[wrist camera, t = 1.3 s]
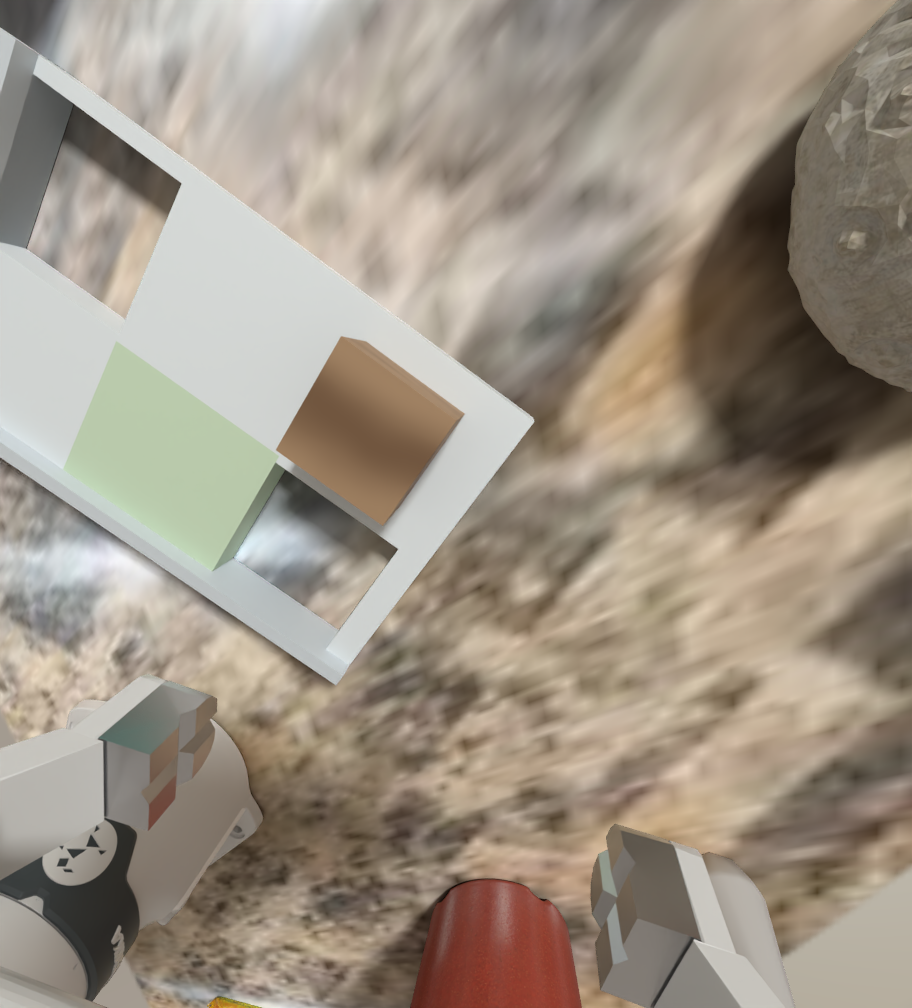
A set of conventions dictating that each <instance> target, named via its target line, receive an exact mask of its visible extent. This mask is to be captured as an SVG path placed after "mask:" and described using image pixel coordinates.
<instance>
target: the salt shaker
mask: <svg viewBox="0 0 912 1008" xmlns="http://www.w3.org/2000/svg"><path fill="white" fill-rule="evenodd" d="M702 858H703V860H704V863H705V866H706V869H707V872H708V875H709V877H710V880H711V883H712V886H713V889H714V892H715V894H716V897H717V900H718V903H719V906H720V909H721V911H722V914H723V917H724V920H725V923H726V926H727V928H728V931H729V934H730V937H731V940H732V943H733V945H734V948H735V951H736V954H739V955H742V956H744V957H746V958H747V959H748V961H749V962H750V963H751V964H752V966H753V967H754V968H755V970H756V971H757V972H758V973H759V975H760V976H761V977H762V978H763V980H764V981H765V982H766V984H767V985H768V986H769V987H770V989H771V990H772V991H773V992H774V994H775V995H776V996H777V998H778V999H779V1000H780V1001H781V1003H782V1004H783V1005H784V1006H785V1008H795V1004H794V1001H793V997H792V994H791V990H790V987H789V983H788V979H787V976H786V972H785V969H784V966H783V962H782V958H781V955H780V951H779V948H778V944H777V941H776V937H775V934H774V930H773V927H772V923H771V919H770V916H769V912H768V909H767V905H766V902H765V899H764V897H763V896H762V894H761V893H760V891H759V890H758V888H757V887H756V886H755V884H754V883H753V882H752V880H751V879H750V878H749V877H748V876H747V875H746V874H745V873H744V872H743V871H742V870H741V869H740V867H739V866H738V865H737V864H736V863H735V862H734V861H733V860H732V859H729V858H725V857H722V856H719V855H716V854H713V853H710V852H709V853H706V854H703V855H702Z"/></svg>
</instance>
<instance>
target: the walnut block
mask: <svg viewBox="0 0 912 1008" xmlns="http://www.w3.org/2000/svg"><path fill="white" fill-rule="evenodd" d="M463 416H464V413H463V412H462V411H460V410H459V409H458V408H456V407H455V406H454V405H452V404H451V403H449V402H448V401H447V400H445V399H444V398H443V397H441V396H440V395H439V394H437V393H436V392H434V391H433V390H432V389H430V388H429V387H428V386H426V385H425V384H424V383H422V382H421V381H419V380H418V379H417V378H415V377H414V376H413V375H411V374H410V373H409V372H407V371H406V370H404V369H403V368H402V367H400V366H399V365H398V364H396V363H395V362H394V361H392V360H391V359H389V358H388V357H387V356H385V355H384V354H383V353H381V352H380V351H379V350H377V349H376V348H374V347H373V346H372V345H370V344H369V343H368V342H366V341H362V340H357V339H352V338H348V337H343V336H341V337H340V339H339V341H338V342H337V344H336V346H335V348H334V349H333V351H332V353H331V355H330V356H329V358H328V360H327V361H326V363H325V365H324V367H323V368H322V370H321V372H320V374H319V375H318V377H317V379H316V381H315V382H314V384H313V386H312V388H311V389H310V391H309V393H308V395H307V396H306V398H305V400H304V401H303V403H302V405H301V407H300V408H299V410H298V412H297V414H296V415H295V417H294V419H293V421H292V422H291V424H290V426H289V428H288V429H287V431H286V433H285V435H284V436H283V438H282V440H281V442H280V443H279V445H278V447H277V448H276V451H278V452H279V453H280V454H282V455H283V456H285V457H286V458H287V459H289V460H290V461H292V462H293V463H295V464H296V465H297V466H299V467H300V468H302V469H303V470H304V471H306V472H307V473H309V474H310V475H311V476H313V477H314V478H316V479H317V480H319V481H320V482H321V483H323V484H324V485H326V486H327V487H328V488H330V489H331V490H333V491H334V492H335V493H337V494H338V495H340V496H341V497H343V498H344V499H345V500H347V501H348V502H350V503H351V504H352V505H354V506H355V507H357V508H358V509H360V510H361V511H362V512H364V513H365V514H367V515H368V516H369V517H371V518H372V519H374V520H375V521H376V522H378V523H379V524H381V525H382V526H383V525H384V524H385V523H386V522H387V521H388V519H389V518H390V517H391V516H392V515H393V514H394V513H395V511H396V510H397V509H398V508H399V507H400V506H401V504H402V503H403V501H404V500H405V499H406V497H407V496H408V494H409V493H410V491H411V490H412V489H413V487H414V486H415V484H416V483H417V481H418V480H419V479H420V477H421V476H422V474H423V473H424V471H425V470H426V469H427V467H428V466H429V464H430V463H431V461H432V460H433V459H434V457H435V456H436V454H437V453H438V452H439V450H440V449H441V447H442V446H443V444H444V443H445V442H446V440H447V439H448V437H449V436H450V434H451V433H452V432H453V430H454V429H455V427H456V426H457V424H458V423H459V422H460V420H461V419H462V417H463Z"/></svg>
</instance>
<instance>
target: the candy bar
mask: <svg viewBox="0 0 912 1008" xmlns="http://www.w3.org/2000/svg"><path fill="white" fill-rule="evenodd" d="M211 1003H212V1005H211V1006H210V1004H211ZM211 1003H209V1004H208V1005H207V1006H209V1008H261V1007H257V1006H254V1005H250V1004H246V1003H243V1002H239V1001H235V1000H232V999H228V998H225V997H217V998H215V999H214V1000H213V1001H212V1002H211Z"/></svg>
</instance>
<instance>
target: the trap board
mask: <svg viewBox="0 0 912 1008" xmlns="http://www.w3.org/2000/svg"><path fill="white" fill-rule="evenodd" d="M73 104H75V105H76V106H77V107H79V108H80V109H82V110H83V111H84V112H86V113H87V114H88V115H90V116H91V117H92V118H94V119H95V120H96V121H98V122H99V123H101V124H102V125H103V126H105V127H106V128H107V129H109V130H110V131H111V132H113V133H114V134H115V135H117V136H118V137H119V138H121V139H122V140H124V141H125V142H126V143H128V144H129V145H130V146H132V147H133V148H134V149H136V150H137V151H138V152H140V153H141V154H143V155H144V156H145V157H147V158H148V159H149V160H151V161H152V162H153V163H155V164H156V165H157V166H159V167H160V168H162V169H163V170H164V171H166V172H167V173H168V174H170V175H171V176H172V177H174V178H175V179H176V180H178V181H179V182H181V183H182V184H181V187H180V189H179V191H178V194H177V196H176V199H175V201H174V203H173V206H172V208H171V211H170V213H169V215H168V218H167V220H166V223H165V225H164V227H163V230H162V232H161V235H160V237H159V239H158V242H157V244H156V247H155V249H154V252H153V254H152V256H151V259H150V261H149V264H148V266H147V268H146V271H145V273H144V276H143V278H142V280H141V283H140V285H139V288H138V290H137V292H136V295H135V297H134V300H133V302H132V304H131V307H130V309H129V312H128V314H127V316H126V319H124V318H123V317H121V316H120V315H119V314H117V313H116V312H114V311H113V310H112V309H110V308H109V307H107V306H106V305H105V304H103V303H102V302H100V301H99V300H98V299H96V298H95V297H93V296H92V295H91V294H89V293H88V292H86V291H85V290H83V289H82V288H81V287H79V286H78V285H76V284H75V283H74V282H72V281H71V280H69V279H68V278H67V277H65V276H64V275H62V274H61V273H60V272H58V271H57V270H55V269H54V268H53V267H51V266H50V265H48V264H47V263H46V262H44V261H43V260H41V259H40V258H39V257H37V256H36V255H34V254H33V253H31V252H30V251H29V250H27V249H26V247H27V244H28V241H29V238H30V235H31V232H32V229H33V226H34V223H35V220H36V217H37V214H38V211H39V208H40V205H41V202H42V199H43V195H44V192H45V189H46V186H47V183H48V180H49V177H50V174H51V171H52V168H53V165H54V162H55V159H56V156H57V153H58V150H59V147H60V144H61V141H62V138H63V135H64V132H65V129H66V126H67V123H68V120H69V117H70V113H71V110H72V107H73ZM341 336H343V337H348V338H352V339H357V340H362V341H366V342H368V343H369V344H370V345H372V346H373V347H374V348H376V349H377V350H379V351H380V352H381V353H383V354H384V355H385V356H387V357H388V358H389V359H391V360H392V361H394V362H395V363H396V364H398V365H399V366H400V367H402V368H403V369H404V370H406V371H407V372H409V373H410V374H411V375H413V376H414V377H415V378H417V379H418V380H419V381H421V382H422V383H424V384H425V385H426V386H428V387H429V388H430V389H432V390H433V391H434V392H436V393H437V394H439V395H440V396H441V397H443V398H444V399H445V400H447V401H448V402H449V403H451V404H452V405H454V406H455V407H456V408H458V409H459V410H460V411H462V412H463V413H464V416H463V417H462V419H461V420H460V422H459V423H458V424H457V426H456V427H455V429H454V430H453V432H452V433H451V434H450V436H449V437H448V439H447V440H446V442H445V443H444V444H443V446H442V447H441V449H440V450H439V452H438V453H437V454H436V456H435V457H434V459H433V460H432V461H431V463H430V464H429V466H428V467H427V469H426V470H425V471H424V473H423V474H422V476H421V477H420V479H419V480H418V481H417V483H416V484H415V486H414V487H413V489H412V490H411V491H410V493H409V494H408V496H407V497H406V499H405V500H404V501H403V503H402V504H401V506H400V507H399V508H398V509H397V510H396V511H395V513H394V514H393V515H392V516H391V517H390V518H389V519H388V521H387V522H386V523H385V524H384V525H383V526H382V525H381V524H379V523H378V522H376V521H375V520H374V519H372V518H371V517H369V516H368V515H367V514H365V513H364V512H362V511H361V510H360V509H358V508H357V507H355V506H354V505H352V504H351V503H350V502H348V501H347V500H345V499H344V498H343V497H341V496H340V495H338V494H337V493H335V492H334V491H333V490H331V489H330V488H328V487H327V486H326V485H324V484H323V483H321V482H320V481H319V480H317V479H316V478H314V477H313V476H311V475H310V474H309V473H307V472H306V471H304V470H303V469H302V468H300V467H299V466H297V465H296V464H295V463H293V462H292V461H290V460H289V459H287V458H286V457H285V456H283V455H282V454H280V453H279V452H278V451H276V448H277V447H278V445H279V443H280V442H281V440H282V438H283V436H284V435H285V433H286V431H287V429H288V428H289V426H290V424H291V422H292V421H293V419H294V417H295V415H296V414H297V412H298V410H299V408H300V407H301V405H302V403H303V401H304V400H305V398H306V396H307V395H308V393H309V391H310V389H311V388H312V386H313V384H314V382H315V381H316V379H317V377H318V375H319V374H320V372H321V370H322V368H323V367H324V365H325V363H326V361H327V360H328V358H329V356H330V355H331V353H332V351H333V349H334V348H335V346H336V344H337V342H338V341H339V339H340V337H341ZM533 423H534V419H533V417H532V416H530V415H529V414H528V413H526V412H525V411H524V410H522V409H521V408H520V407H518V406H517V405H515V404H514V403H513V402H511V401H510V400H509V399H507V398H506V397H505V396H503V395H502V394H501V393H499V392H498V391H497V390H495V389H494V388H493V387H491V386H490V385H489V384H487V383H486V382H484V381H483V380H482V379H480V378H479V377H478V376H476V375H475V374H474V373H472V372H471V371H470V370H468V369H467V368H466V367H464V366H463V365H462V364H460V363H459V362H457V361H456V360H455V359H453V358H452V357H451V356H449V355H448V354H447V353H445V352H444V351H443V350H441V349H440V348H439V347H437V346H436V345H435V344H433V343H432V342H430V341H429V340H428V339H426V338H425V337H424V336H422V335H421V334H420V333H418V332H417V331H416V330H414V329H413V328H412V327H410V326H409V325H408V324H406V323H405V322H404V321H402V320H401V319H399V318H398V317H397V316H395V315H394V314H393V313H391V312H390V311H389V310H387V309H386V308H385V307H383V306H382V305H381V304H379V303H378V302H377V301H375V300H374V299H372V298H371V297H370V296H368V295H367V294H366V293H364V292H363V291H362V290H360V289H359V288H358V287H356V286H355V285H354V284H352V283H351V282H350V281H348V280H347V279H345V278H344V277H343V276H341V275H340V274H339V273H337V272H336V271H335V270H333V269H332V268H331V267H329V266H328V265H327V264H325V263H324V262H323V261H321V260H320V259H319V258H317V257H316V256H314V255H313V254H312V253H310V252H309V251H308V250H306V249H305V248H304V247H302V246H301V245H300V244H298V243H297V242H296V241H294V240H293V239H292V238H290V237H289V236H287V235H286V234H285V233H283V232H282V231H281V230H279V229H278V228H277V227H275V226H274V225H273V224H271V223H270V222H269V221H267V220H266V219H265V218H263V217H262V216H260V215H259V214H258V213H256V212H255V211H254V210H252V209H251V208H250V207H248V206H247V205H246V204H244V203H243V202H242V201H240V200H239V199H238V198H236V197H235V196H234V195H232V194H231V193H229V192H228V191H227V190H225V189H224V188H223V187H221V186H220V185H219V184H217V183H216V182H215V181H213V180H212V179H211V178H209V177H208V176H207V175H205V174H204V173H202V172H201V171H200V170H198V169H197V168H196V167H194V166H193V165H192V164H190V163H189V162H188V161H186V160H185V159H184V158H182V157H181V156H180V155H178V154H177V153H175V152H174V151H173V150H171V149H170V148H169V147H167V146H166V145H165V144H163V143H162V142H161V141H159V140H158V139H157V138H155V137H154V136H153V135H151V134H150V133H149V132H147V131H146V130H144V129H143V128H142V127H140V126H139V125H138V124H136V123H135V122H134V121H132V120H131V119H130V118H128V117H127V116H126V115H124V114H123V113H122V112H120V111H119V110H117V109H116V108H115V107H113V106H112V105H111V104H109V103H108V102H107V101H105V100H104V99H103V98H101V97H100V96H99V95H97V94H96V93H95V92H93V91H92V90H90V89H89V88H88V87H86V86H85V85H84V84H82V83H81V82H80V81H78V80H77V79H76V78H74V77H73V76H72V75H70V74H69V73H68V72H66V71H65V70H63V69H62V68H60V67H59V66H57V65H56V64H54V63H53V62H51V61H50V60H48V59H47V58H45V57H44V56H42V55H41V54H39V53H38V52H36V51H35V50H33V49H32V48H30V47H29V46H27V45H26V44H24V43H23V42H21V41H20V40H18V39H17V38H15V37H14V36H12V35H11V34H9V33H8V32H6V31H5V30H3V29H2V28H0V458H2V459H3V460H5V461H6V462H8V463H9V464H11V465H12V466H14V467H15V468H17V469H18V470H20V471H21V472H22V473H24V474H25V475H27V476H28V477H30V478H31V479H33V480H34V481H36V482H37V483H39V484H40V485H42V486H43V487H45V488H46V489H48V490H49V491H50V492H52V493H53V494H55V495H56V496H58V497H59V498H61V499H62V500H64V501H65V502H67V503H68V504H70V505H71V506H73V507H74V508H75V509H77V510H78V511H80V512H81V513H83V514H84V515H86V516H87V517H89V518H90V519H92V520H93V521H95V522H96V523H98V524H99V525H101V526H102V527H103V528H105V529H106V530H108V531H109V532H111V533H112V534H114V535H115V536H117V537H118V538H120V539H121V540H123V541H124V542H126V543H127V544H129V545H130V546H131V547H133V548H134V549H136V550H137V551H139V552H140V553H142V554H143V555H145V556H146V557H148V558H149V559H151V560H152V561H154V562H155V563H156V564H158V565H159V566H161V567H162V568H164V569H165V570H167V571H168V572H170V573H171V574H173V575H174V576H176V577H177V578H179V579H180V580H182V581H183V582H184V583H186V584H187V585H189V586H190V587H192V588H193V589H195V590H196V591H198V592H199V593H201V594H202V595H204V596H205V597H207V598H208V599H210V600H211V601H212V602H214V603H215V604H217V605H218V606H220V607H221V608H223V609H224V610H226V611H227V612H229V613H230V614H232V615H233V616H235V617H236V618H237V619H239V620H240V621H242V622H243V623H245V624H246V625H248V626H249V627H251V628H252V629H254V630H255V631H257V632H258V633H260V634H261V635H263V636H264V637H265V638H267V639H268V640H270V641H271V642H273V643H274V644H276V645H277V646H279V647H280V648H282V649H283V650H285V651H286V652H288V653H289V654H291V655H292V656H293V657H295V658H296V659H298V660H299V661H301V662H302V663H304V664H305V665H307V666H308V667H310V668H311V669H313V670H314V671H316V672H317V673H318V674H320V675H321V676H323V677H324V678H326V679H327V680H329V681H330V682H332V683H333V684H335V685H337V683H338V682H339V681H340V679H341V678H342V677H343V675H344V674H345V672H346V670H347V668H348V667H349V665H350V664H351V662H352V661H353V660H354V658H355V657H356V656H357V654H358V653H359V652H360V651H361V649H362V648H363V647H364V645H365V644H366V643H367V641H368V640H369V639H370V637H371V636H372V635H373V633H374V632H375V631H376V629H377V628H378V627H379V626H380V624H381V623H382V622H383V620H384V619H385V618H386V616H387V615H388V614H389V612H390V611H391V610H392V608H393V607H394V606H395V604H396V603H397V602H398V600H399V599H400V598H401V597H402V595H403V594H404V593H405V591H406V590H407V589H408V587H409V586H410V585H411V583H412V582H413V581H414V579H415V578H416V577H417V575H418V574H419V573H420V571H421V570H422V569H423V568H424V566H425V565H426V564H427V562H428V561H429V560H430V558H431V557H432V556H433V554H434V553H435V552H436V550H437V549H438V548H439V546H440V545H441V544H442V542H443V541H444V540H445V539H446V537H447V536H448V535H449V533H450V532H451V531H452V529H453V528H454V527H455V525H456V524H457V523H458V521H459V520H460V519H461V517H462V516H463V515H464V514H465V512H466V511H467V510H468V508H469V507H470V506H471V504H472V503H473V502H474V500H475V499H476V498H477V496H478V495H479V494H480V492H481V491H482V490H483V488H484V487H485V486H486V485H487V483H488V482H489V481H490V479H491V478H492V477H493V475H494V474H495V473H496V471H497V470H498V469H499V467H500V466H501V465H502V463H503V462H504V461H505V459H506V458H507V457H508V456H509V454H510V453H511V452H512V450H513V449H514V448H515V446H516V445H517V444H518V442H519V441H520V440H521V438H522V437H523V436H524V434H525V433H526V432H527V431H528V429H529V428H530V427H531V425H532V424H533ZM285 470H287V471H288V472H290V473H291V474H293V475H294V476H295V477H297V478H298V479H300V480H301V481H302V482H304V483H305V484H307V485H308V486H310V487H311V488H312V489H314V490H315V491H317V492H318V493H319V494H321V495H322V496H324V497H325V498H327V499H328V500H329V501H331V502H332V503H334V504H335V505H336V506H338V507H339V508H341V509H342V510H344V511H345V512H346V513H348V514H349V515H351V516H352V517H353V518H355V519H356V520H358V521H359V522H361V523H362V524H363V525H365V526H366V527H368V528H369V529H370V530H372V531H373V532H375V533H376V534H378V535H379V536H380V537H382V538H383V539H385V540H386V541H387V542H389V543H390V544H392V545H393V546H395V547H396V548H397V549H398V550H397V551H396V552H395V554H394V555H393V557H392V558H391V559H390V561H389V562H388V563H387V565H386V566H385V568H384V569H383V570H382V572H381V573H380V574H379V576H378V577H377V579H376V580H375V581H374V583H373V584H372V585H371V587H370V588H369V590H368V591H367V592H366V594H365V595H364V596H363V598H362V599H361V601H360V602H359V603H358V605H357V606H356V608H355V609H354V610H353V612H352V613H351V614H350V616H349V617H348V619H347V620H346V621H345V623H344V624H343V625H342V627H341V628H340V630H338V629H336V628H335V627H333V626H332V625H330V624H329V623H327V622H326V621H324V620H323V619H322V618H320V617H319V616H317V615H316V614H314V613H313V612H311V611H310V610H308V609H307V608H306V607H304V606H303V605H301V604H300V603H298V602H297V601H295V600H294V599H292V598H291V597H290V596H288V595H287V594H285V593H284V592H282V591H281V590H279V589H278V588H276V587H275V586H274V585H272V584H271V583H269V582H268V581H266V580H265V579H263V578H262V577H260V576H259V575H258V574H256V573H255V572H253V571H252V570H250V569H249V568H247V567H246V566H244V565H243V564H242V563H240V562H239V561H237V560H236V559H234V558H233V557H234V556H235V554H236V552H237V551H238V549H239V547H240V545H241V544H242V542H243V540H244V539H245V537H246V535H247V534H248V532H249V530H250V529H251V527H252V525H253V523H254V522H255V520H256V518H257V517H258V515H259V513H260V512H261V510H262V508H263V507H264V505H265V503H266V502H267V500H268V498H269V496H270V495H271V493H272V491H273V490H274V488H275V486H276V485H277V483H278V481H279V480H280V478H281V476H282V474H283V473H284V471H285Z"/></svg>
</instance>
